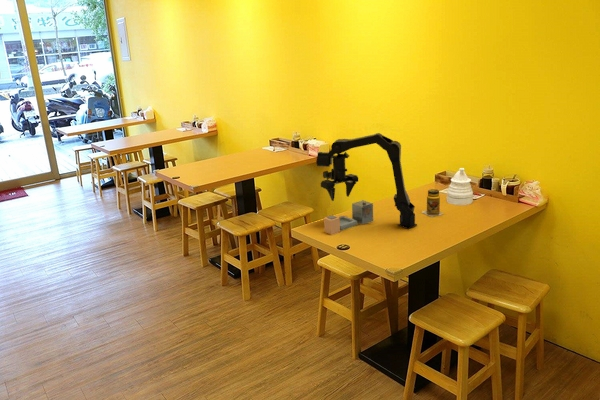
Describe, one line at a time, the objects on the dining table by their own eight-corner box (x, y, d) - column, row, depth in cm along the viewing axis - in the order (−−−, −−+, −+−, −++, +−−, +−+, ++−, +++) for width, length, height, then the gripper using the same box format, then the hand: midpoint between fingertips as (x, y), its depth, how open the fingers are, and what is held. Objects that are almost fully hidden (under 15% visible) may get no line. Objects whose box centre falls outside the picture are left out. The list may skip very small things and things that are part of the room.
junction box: (373, 221, 244) (373, 202, 241) (363, 225, 240) (362, 205, 237) (362, 217, 250) (362, 198, 247) (351, 220, 247) (351, 202, 244)
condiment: (431, 217, 245) (431, 193, 242) (420, 212, 253) (421, 189, 249) (443, 214, 248) (444, 190, 244) (432, 209, 255) (433, 186, 252)
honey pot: (475, 204, 259) (477, 170, 253) (450, 205, 259) (451, 171, 254) (468, 196, 271) (469, 164, 265) (443, 198, 271) (445, 165, 266)
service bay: (357, 225, 241) (357, 220, 240) (341, 230, 235) (341, 226, 235) (343, 219, 249) (343, 215, 248) (327, 225, 243) (327, 220, 242)
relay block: (340, 232, 234) (339, 217, 231) (331, 235, 231) (331, 219, 229) (333, 229, 238) (332, 214, 235) (324, 232, 235) (324, 217, 233)
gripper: (343, 160, 248) (344, 190, 253) (312, 167, 238) (314, 199, 243) (358, 164, 239) (359, 195, 244) (327, 171, 230) (328, 204, 234)
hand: (340, 198), depth 242 cm, fingers open, 9 cm apart
